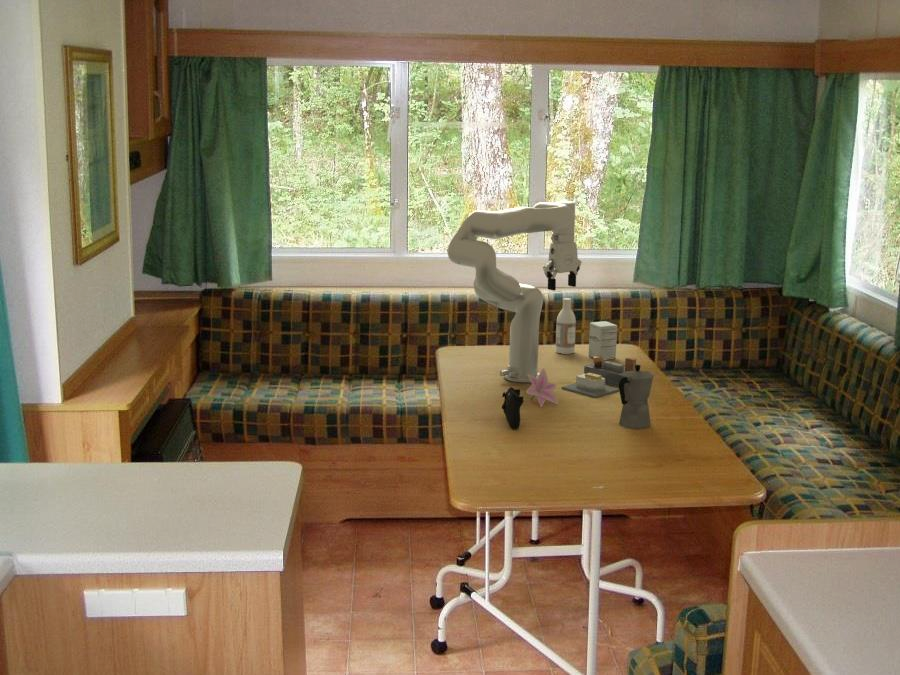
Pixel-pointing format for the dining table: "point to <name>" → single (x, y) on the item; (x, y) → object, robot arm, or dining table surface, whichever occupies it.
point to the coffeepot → (635, 398)
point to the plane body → (610, 369)
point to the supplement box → (603, 340)
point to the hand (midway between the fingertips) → (561, 288)
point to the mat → (590, 393)
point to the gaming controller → (512, 407)
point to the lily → (542, 388)
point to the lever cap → (590, 382)
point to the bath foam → (565, 329)
